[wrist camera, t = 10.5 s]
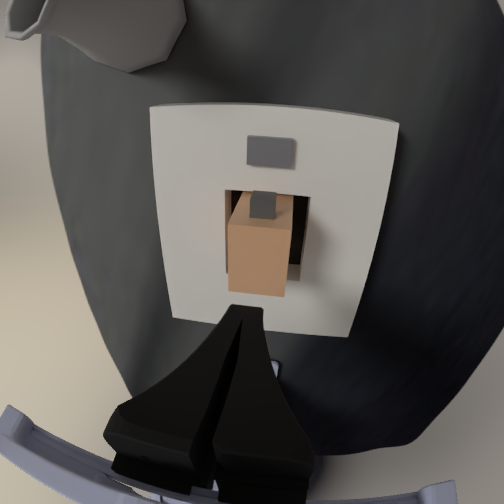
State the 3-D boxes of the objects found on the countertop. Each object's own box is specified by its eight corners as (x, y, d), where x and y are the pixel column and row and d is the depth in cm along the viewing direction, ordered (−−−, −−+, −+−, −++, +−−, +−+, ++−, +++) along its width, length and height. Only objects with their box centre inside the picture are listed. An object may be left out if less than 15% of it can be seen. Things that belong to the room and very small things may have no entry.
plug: (288, 241, 21) (284, 297, 16) (245, 237, 21) (228, 291, 16) (295, 172, 19) (293, 210, 13) (247, 168, 19) (227, 204, 14)
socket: (345, 319, 24) (348, 340, 22) (180, 301, 26) (171, 320, 23) (389, 119, 16) (401, 124, 14) (163, 104, 17) (146, 108, 15)
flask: (198, -26, 12) (116, -91, 4) (179, 74, 16) (76, 78, 8) (102, -15, 12) (-3, -37, 4) (88, 74, 16) (-25, 95, 8)
